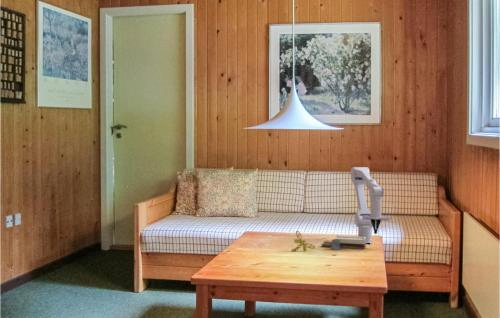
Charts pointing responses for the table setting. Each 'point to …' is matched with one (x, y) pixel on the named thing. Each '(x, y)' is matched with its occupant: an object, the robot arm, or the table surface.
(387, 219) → the robot arm
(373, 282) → the table surface
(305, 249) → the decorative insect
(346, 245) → the track board
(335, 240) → the block
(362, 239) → the shallow rimmed tray
